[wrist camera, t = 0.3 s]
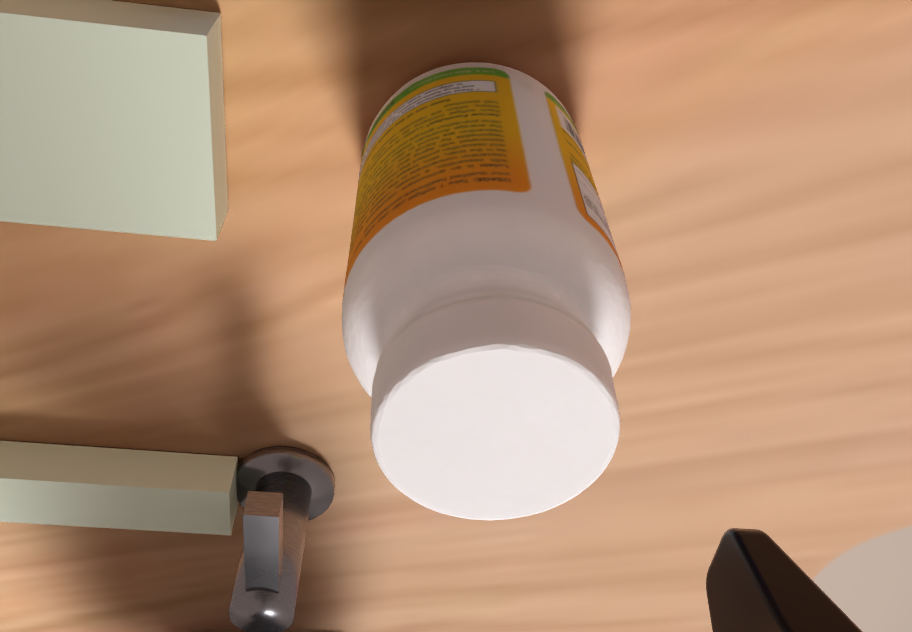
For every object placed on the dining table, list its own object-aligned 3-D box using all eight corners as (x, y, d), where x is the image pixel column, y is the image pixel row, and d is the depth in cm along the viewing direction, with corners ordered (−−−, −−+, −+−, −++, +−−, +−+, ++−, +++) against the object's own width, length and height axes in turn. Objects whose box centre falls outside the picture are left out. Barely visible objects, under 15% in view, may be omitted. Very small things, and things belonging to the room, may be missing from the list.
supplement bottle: (329, 205, 22) (273, 496, 14) (420, 14, 19) (414, 247, 11) (512, 282, 24) (554, 582, 16) (622, 116, 21) (738, 382, 13)
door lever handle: (333, 516, 29) (317, 651, 25) (236, 510, 29) (205, 646, 25) (340, 394, 26) (323, 526, 22) (231, 385, 25) (194, 518, 21)
